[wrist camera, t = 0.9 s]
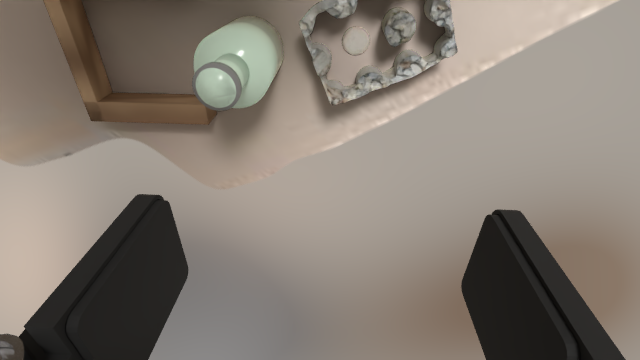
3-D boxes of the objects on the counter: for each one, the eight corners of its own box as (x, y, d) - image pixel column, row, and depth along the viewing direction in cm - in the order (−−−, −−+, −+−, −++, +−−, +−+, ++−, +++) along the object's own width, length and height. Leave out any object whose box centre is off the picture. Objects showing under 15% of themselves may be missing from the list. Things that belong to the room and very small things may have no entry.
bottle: (217, 15, 27) (161, 41, 19) (282, 16, 27) (255, 42, 18) (226, 80, 30) (182, 127, 21) (285, 81, 30) (263, 130, 21)
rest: (54, -34, 26) (30, -33, 24) (191, -33, 25) (178, -32, 23) (106, 110, 32) (91, 121, 30) (216, 113, 32) (208, 124, 30)
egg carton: (328, 93, 30) (325, 111, 27) (297, 5, 27) (290, 13, 23) (450, 54, 28) (464, 68, 25) (435, -50, 24) (450, -50, 21)
